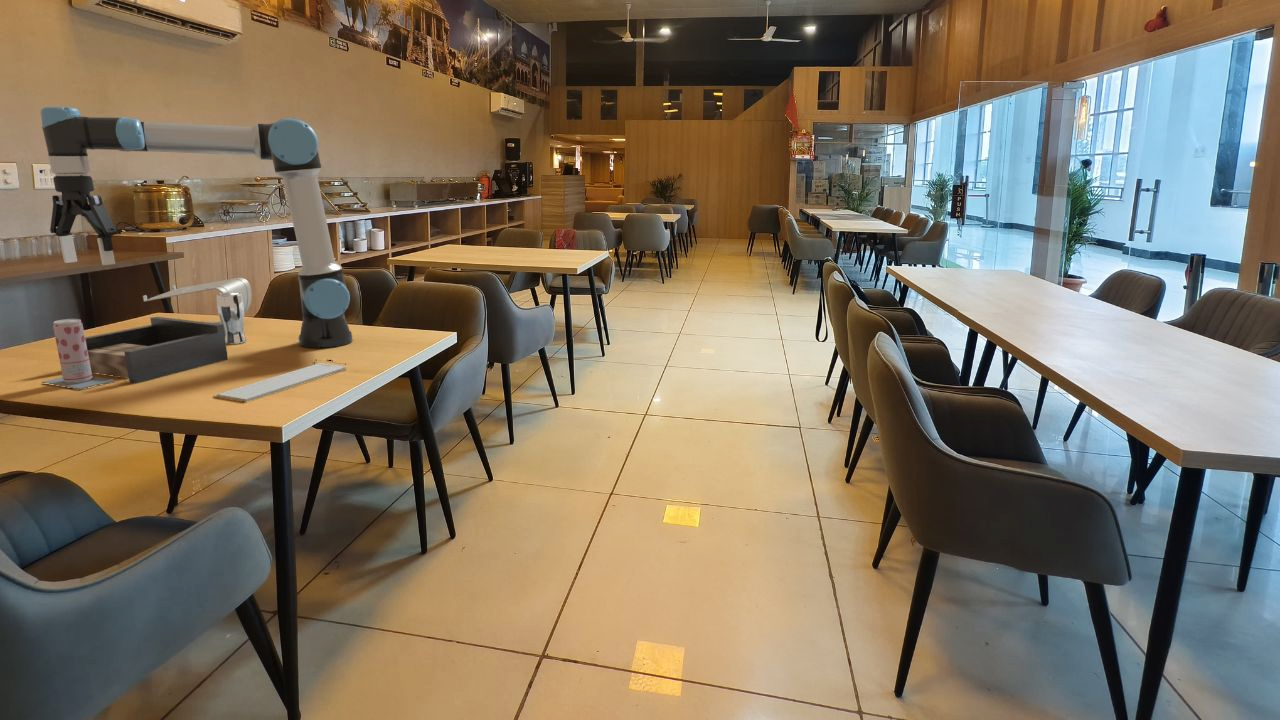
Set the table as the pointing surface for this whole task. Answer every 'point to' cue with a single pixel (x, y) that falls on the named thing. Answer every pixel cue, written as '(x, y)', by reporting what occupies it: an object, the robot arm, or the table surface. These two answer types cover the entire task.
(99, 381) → the mat
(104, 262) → the robot arm
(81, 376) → the beverage can
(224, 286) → the portable electronic device stand
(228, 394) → the baseboard molding
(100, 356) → the offcut slab
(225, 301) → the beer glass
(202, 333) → the tray
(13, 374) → the table surface
